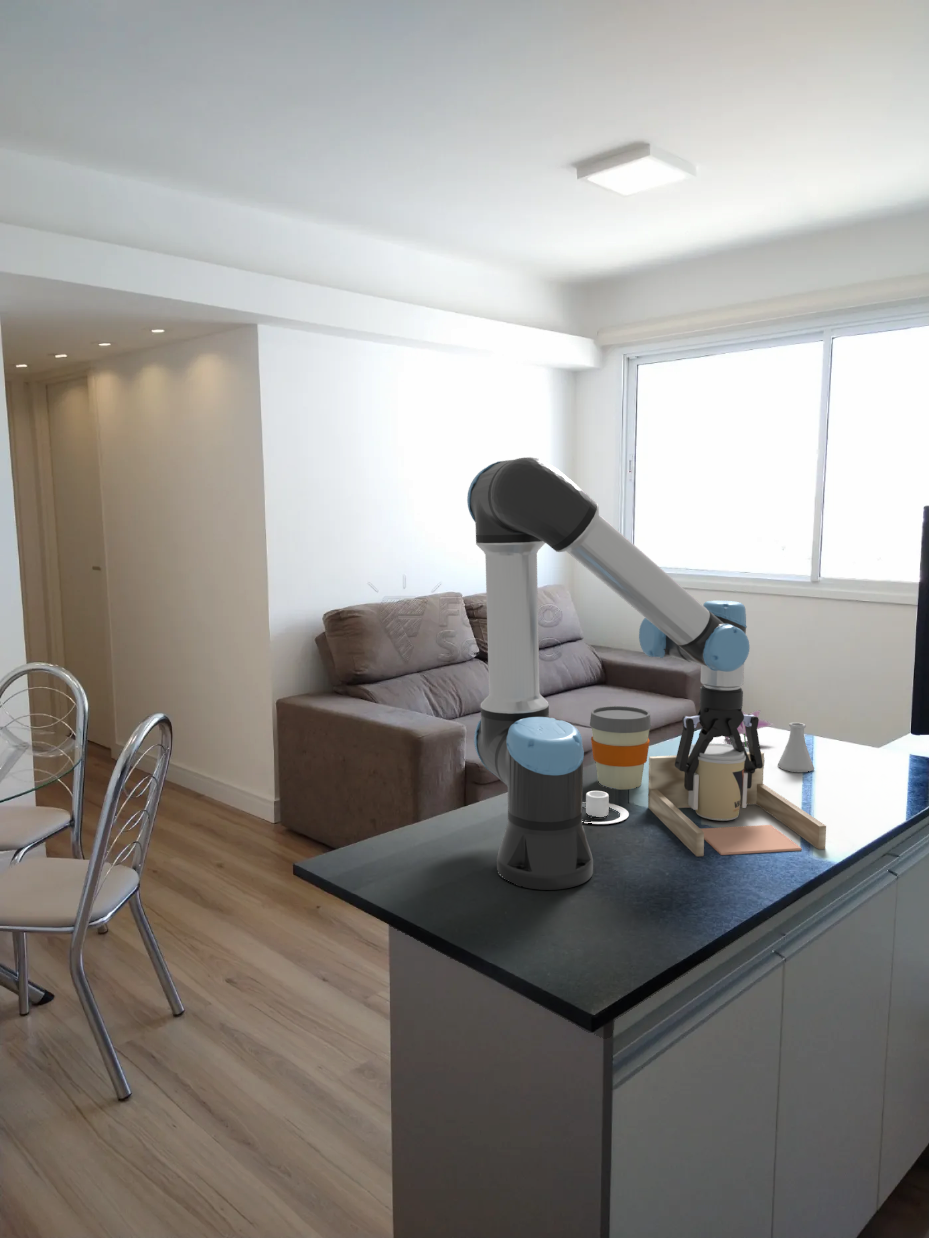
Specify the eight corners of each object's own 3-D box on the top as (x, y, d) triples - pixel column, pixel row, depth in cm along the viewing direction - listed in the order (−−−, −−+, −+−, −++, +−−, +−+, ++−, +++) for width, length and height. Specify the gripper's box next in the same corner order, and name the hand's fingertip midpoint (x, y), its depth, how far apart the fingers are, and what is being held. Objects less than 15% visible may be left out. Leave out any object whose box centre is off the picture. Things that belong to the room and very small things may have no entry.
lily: (779, 749, 210) (773, 711, 214) (762, 740, 202) (756, 700, 205) (731, 757, 217) (726, 720, 221) (712, 748, 208) (707, 710, 212)
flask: (771, 765, 193) (772, 721, 192) (798, 762, 196) (800, 719, 194) (792, 775, 187) (794, 729, 185) (820, 771, 189) (822, 726, 188)
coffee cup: (746, 824, 156) (748, 758, 154) (692, 820, 158) (694, 755, 156) (740, 807, 165) (743, 745, 164) (689, 803, 167) (691, 742, 165)
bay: (696, 856, 143) (697, 797, 142) (648, 807, 167) (648, 756, 166) (825, 848, 146) (827, 790, 144) (759, 801, 169) (761, 751, 168)
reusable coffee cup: (660, 789, 177) (661, 717, 176) (601, 794, 175) (602, 721, 173) (636, 771, 190) (637, 704, 188) (581, 775, 187) (581, 707, 185)
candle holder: (575, 830, 156) (575, 806, 156) (556, 808, 168) (556, 786, 168) (638, 825, 159) (639, 802, 158) (615, 803, 170) (615, 782, 170)
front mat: (721, 854, 143) (721, 852, 143) (695, 831, 154) (695, 828, 154) (801, 850, 145) (801, 847, 145) (770, 826, 156) (770, 824, 156)
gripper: (767, 680, 163) (762, 797, 166) (657, 683, 161) (654, 801, 164) (787, 688, 156) (781, 810, 159) (672, 691, 154) (668, 815, 156)
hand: (717, 806), depth 161 cm, fingers closed on coffee cup, 9 cm apart
